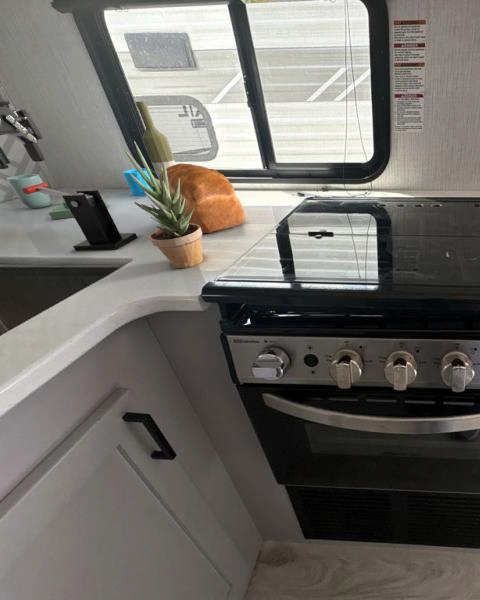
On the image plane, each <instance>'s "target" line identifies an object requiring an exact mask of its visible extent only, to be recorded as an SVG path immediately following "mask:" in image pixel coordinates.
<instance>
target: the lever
mask: <svg viewBox="0 0 480 600" xmlns="http://www.w3.org/2000/svg"><path fill="white" fill-rule="evenodd" d="M22 191H23V192H24V193H25V194H32V193H35V192H40V193H44V194H48V195H50V196H52V197H57V198H61V199H63V197H62V196H63V195H73V194H72V193H68V192H65V191H59V190H55V189H51V188H49V185H48V184H47V183H46V182H43V183H40V184H36V185H33V186H29V187H25V188H23V189H22ZM78 194H83V193H78ZM85 196H86V198H87V199H88V201H89V203H90V205H91V207H93V206H95V201H94V196H92V195H88V194H85Z"/></svg>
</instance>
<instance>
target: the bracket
mask: <svg viewBox="0 0 480 600" xmlns="http://www.w3.org/2000/svg"><path fill="white" fill-rule="evenodd" d="M75 192H76V193H74V195H73V194H72V195H63V196H62V197H63V198H62V199H63V201H64V200H65V202H66V204H67V206H68V207H69V209H70V211H71V213H72V214H73V216H74V217H73V218H74V220H75V221H76V223H77V225H78V226H79V227H78V228H79V229H80V230H81V232H82V233H83V236H84V237H85V240H82V241H81V242H79V243H76V244H74V245H73V246H72V247H73V249H74V251H76V252H77V251H79V252H81V251H110V250H118V249H120V248H122V247H123V246H125V245H127V244H129V243H130V242H132V241H133V240H135V239H137V238H138V235H137V233H136V232H126V233H125V232H124V233H121V232H120V231H119V229H118V227H117V225H116V223H115V221H114V219H113V217H112V216H111V213H110V211H109V209H108V206H107V207H106V205H105V203H104V201H103V199H104V198H102V196H101V193H100V192H99V190H98V189H78V190H76V191H75ZM78 193H83V194H78ZM85 194H88V195H92V196H94V201H95V206H93V207H91V205H90V203H89V201H88V199H87V198H86V196H85Z"/></svg>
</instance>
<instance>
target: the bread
mask: <svg viewBox="0 0 480 600" xmlns="http://www.w3.org/2000/svg"><path fill="white" fill-rule="evenodd" d="M166 172H167V177H168V184H169V192H170V196H171V197H172V196H173V194H174V192H175V190H176V187H177V182H178V178H179V180H180V191H179V196H180V194H181V195H182V197H181V202H182V201H183V199H185V202H184V208H183V211H182V213H183V212H184V210H185V208H186V206H187V205H189V206H188V209H187V211H186V213H185V215H184V217H185V216H186V215H187V214H188V213H189V212H190V211H191V210H192V209H193V208H194V207H195V208H194V210H193V212H192V215H191V218H190V220H189V222H188V223H192V224H198V225H199V226H200V228H201V231H202V234H203V233H204V234H211V233H217V232H220V231H224V230H227V229H230V228H233V227H235V226H239V225H241V224H242V223H244V222H245V220H246V214H245V211H244V208H243V205H242V203H241V201H240V199H239V198H238V196H237V195H236V192H235V188H234V186H233V184H232V183H231V182H230V180H229V179H228V178H227V177H226V176H225V175H224V174H222V173H221V172H219V171H217V170H215V169H214V168H209V167H206V166H202V165H197V164H192V163H181V162H179V163H176V165H173V166H170V167H167V168H166ZM158 180H160V181H159V187H160V188H162V184H161V175H160V176H159V178H158Z"/></svg>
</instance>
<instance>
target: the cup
mask: <svg viewBox="0 0 480 600" xmlns="http://www.w3.org/2000/svg"><path fill="white" fill-rule="evenodd" d="M6 182H7V183H8V184H9V186H10V187H11V189H12V190H13V192H14V193H15V195H16V196H17V197H18V199H19V201H21V203H23V204H24V205H25V206H26V207H27V208H31V209H41V208H46V207H49V206H50V205H51V204H52V197H51V195H48V194H44V193H40V192H35V193H32V194H25V193H24V192H23V191H22V189H23V188H25V187H29V186H33V185H36V184H40V183H44V182H43V180H42V178H41V176H40V175H39V174H38V173H27V174H20V175H13V176H10V177H7V178H6Z"/></svg>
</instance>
